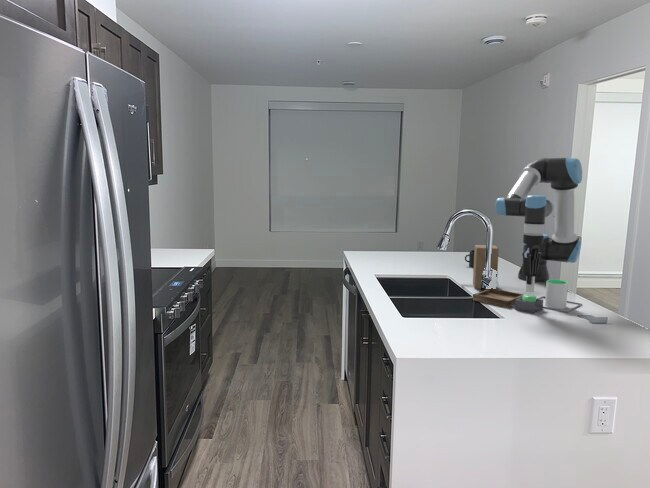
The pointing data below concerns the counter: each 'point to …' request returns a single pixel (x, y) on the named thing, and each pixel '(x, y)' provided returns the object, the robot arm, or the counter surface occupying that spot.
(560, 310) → the tote frame
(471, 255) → the mug
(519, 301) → the control box
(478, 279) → the wooden block
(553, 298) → the mug
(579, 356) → the counter surface
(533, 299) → the button
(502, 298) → the wooden tray
